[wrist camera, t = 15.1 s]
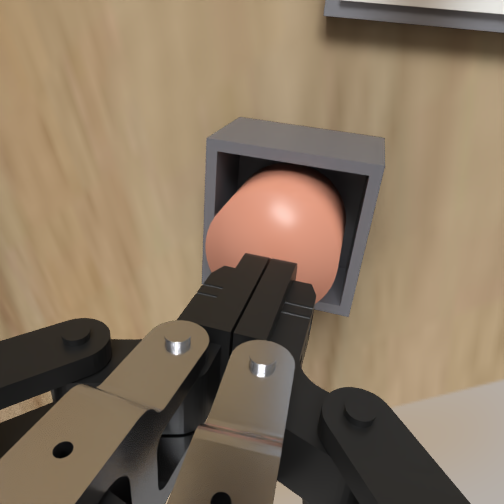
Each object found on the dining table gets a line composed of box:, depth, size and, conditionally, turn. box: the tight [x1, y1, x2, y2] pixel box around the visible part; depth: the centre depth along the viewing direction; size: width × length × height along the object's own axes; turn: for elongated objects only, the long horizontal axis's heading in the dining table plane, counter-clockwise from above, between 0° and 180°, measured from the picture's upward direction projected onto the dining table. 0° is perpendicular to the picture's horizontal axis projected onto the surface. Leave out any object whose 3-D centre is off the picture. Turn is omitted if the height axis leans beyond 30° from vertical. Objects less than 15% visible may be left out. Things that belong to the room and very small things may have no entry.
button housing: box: [202, 117, 385, 317], centre depth 17 cm, size 6×6×4 cm
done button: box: [205, 163, 346, 304], centre depth 15 cm, size 4×4×3 cm
